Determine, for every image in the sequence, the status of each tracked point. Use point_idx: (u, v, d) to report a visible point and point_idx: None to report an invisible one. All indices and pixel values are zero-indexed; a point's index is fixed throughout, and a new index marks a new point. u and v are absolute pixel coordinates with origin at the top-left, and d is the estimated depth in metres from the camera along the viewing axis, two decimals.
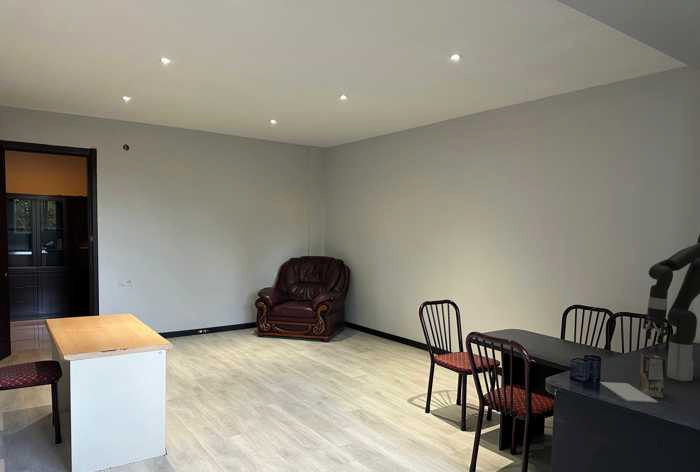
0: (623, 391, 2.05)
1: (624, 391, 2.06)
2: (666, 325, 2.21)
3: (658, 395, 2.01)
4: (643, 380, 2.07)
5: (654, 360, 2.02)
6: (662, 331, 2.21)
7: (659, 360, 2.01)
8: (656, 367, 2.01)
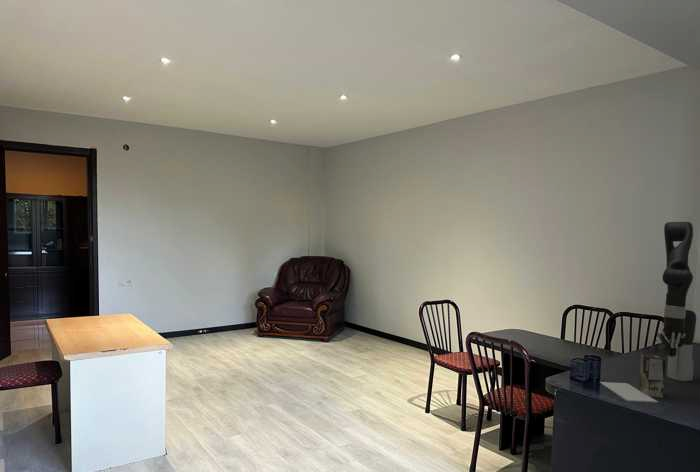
0: (623, 391, 2.05)
1: (624, 391, 2.06)
2: None
3: (658, 395, 2.01)
4: (643, 380, 2.07)
5: (654, 360, 2.02)
6: (683, 344, 2.04)
7: (659, 360, 2.01)
8: (656, 367, 2.01)
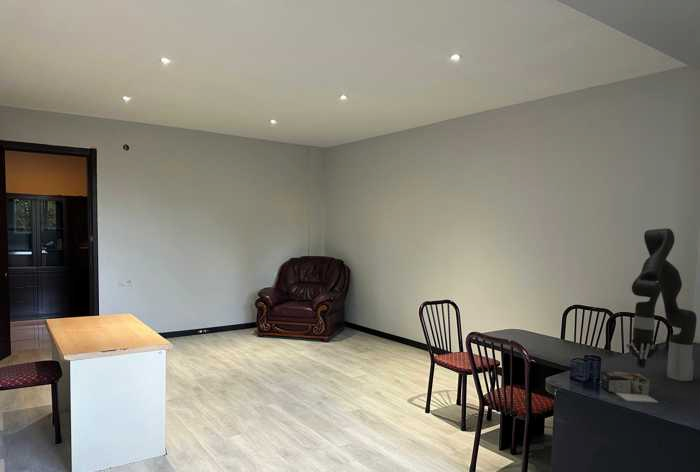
0: None
1: None
2: None
3: (647, 385, 2.02)
4: None
5: (610, 387, 2.04)
6: (652, 355, 2.04)
7: (610, 382, 2.04)
8: (617, 385, 2.04)
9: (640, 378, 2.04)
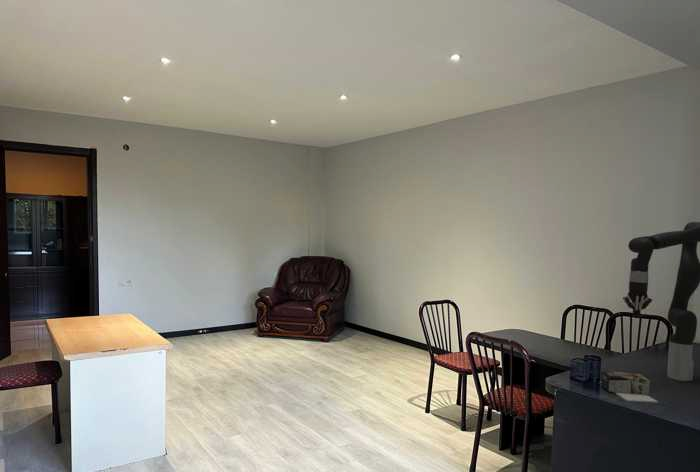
0: None
1: None
2: None
3: (647, 385, 2.02)
4: None
5: (610, 387, 2.04)
6: (646, 306, 2.23)
7: (610, 382, 2.04)
8: (617, 385, 2.04)
9: (640, 378, 2.04)
